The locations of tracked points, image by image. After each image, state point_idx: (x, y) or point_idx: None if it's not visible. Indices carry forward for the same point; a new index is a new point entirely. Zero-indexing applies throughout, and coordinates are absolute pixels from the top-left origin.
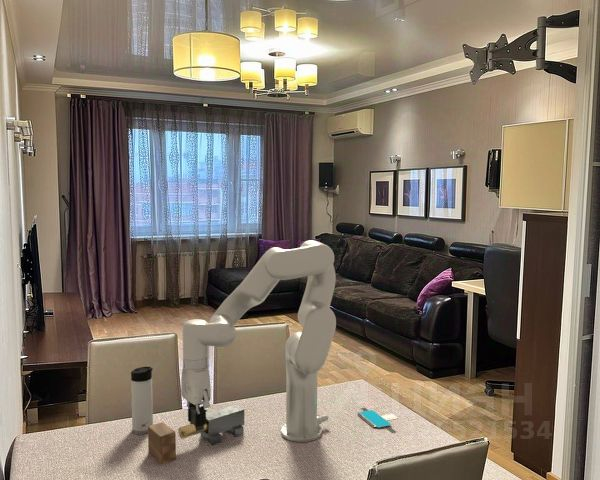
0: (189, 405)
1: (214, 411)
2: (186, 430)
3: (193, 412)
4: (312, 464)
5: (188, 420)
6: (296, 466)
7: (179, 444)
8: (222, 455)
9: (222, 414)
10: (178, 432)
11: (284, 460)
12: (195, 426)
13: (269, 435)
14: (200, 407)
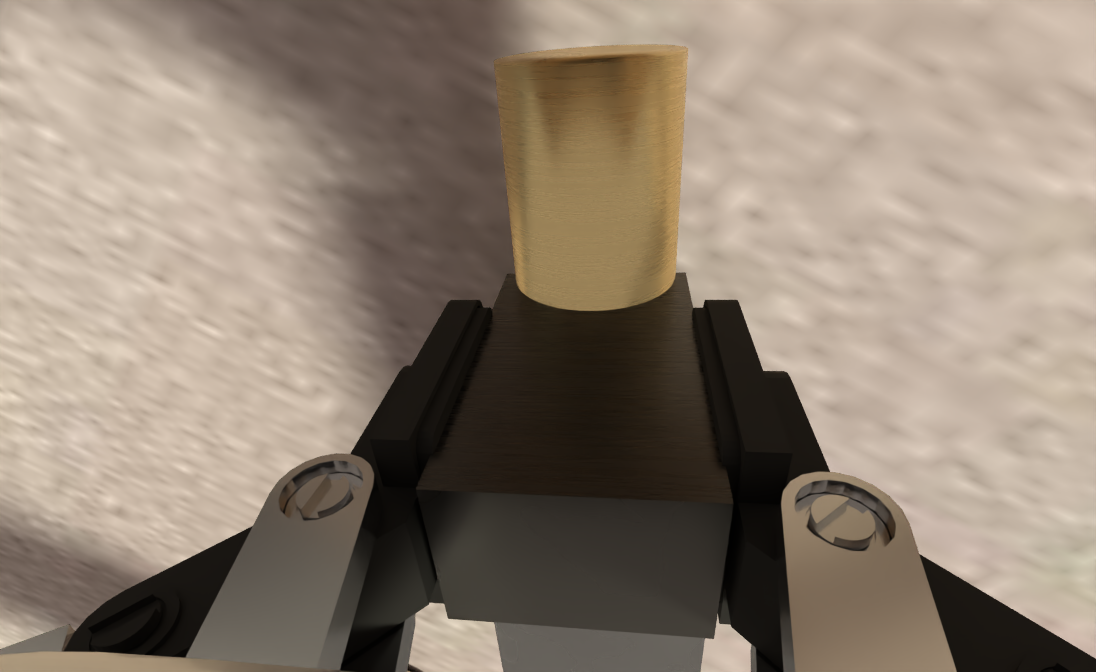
0: (781, 547)
1: (678, 641)
2: (508, 137)
3: (557, 447)
4: (34, 584)
5: (722, 303)
6: (26, 533)
7: (738, 79)
8: (294, 309)
9: (538, 647)
10: (682, 46)
11: (104, 531)
12: (519, 303)
13: (427, 628)
14: (191, 640)
